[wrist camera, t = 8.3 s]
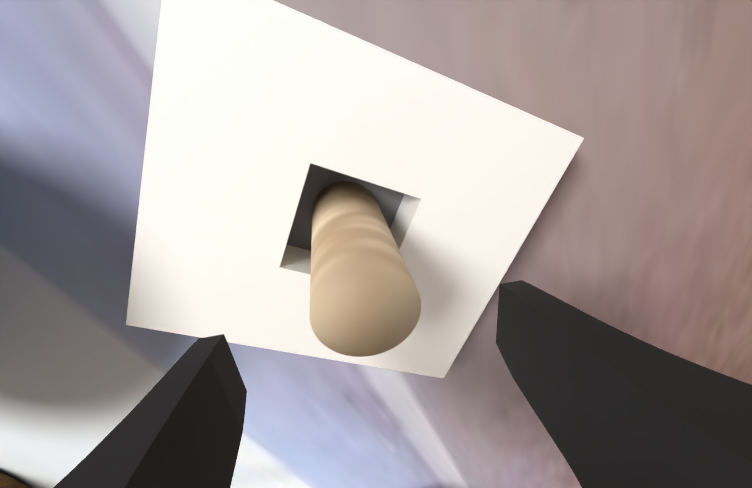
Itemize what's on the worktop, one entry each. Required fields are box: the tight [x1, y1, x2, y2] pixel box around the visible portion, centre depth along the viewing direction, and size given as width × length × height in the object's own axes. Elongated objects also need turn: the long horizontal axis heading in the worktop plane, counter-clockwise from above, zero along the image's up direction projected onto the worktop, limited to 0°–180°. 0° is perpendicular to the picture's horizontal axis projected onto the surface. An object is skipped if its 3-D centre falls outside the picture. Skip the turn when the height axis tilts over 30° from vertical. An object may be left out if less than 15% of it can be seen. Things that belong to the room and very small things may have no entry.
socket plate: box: [126, 0, 584, 378], centre depth 16 cm, size 16×14×2 cm
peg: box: [310, 181, 421, 357], centre depth 14 cm, size 3×3×8 cm
